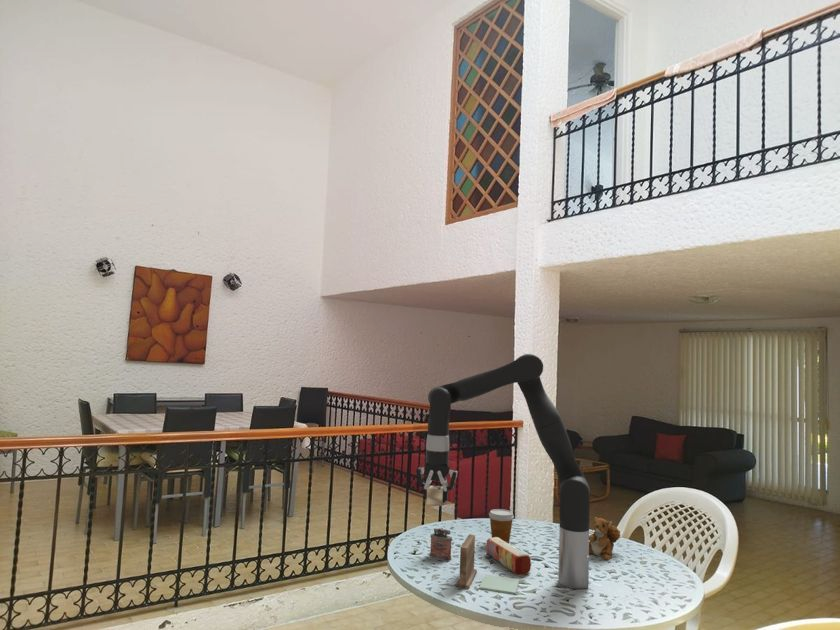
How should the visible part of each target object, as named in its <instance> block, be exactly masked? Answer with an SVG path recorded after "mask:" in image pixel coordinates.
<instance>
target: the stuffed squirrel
mask: <svg viewBox="0 0 840 630" xmlns="http://www.w3.org/2000/svg"><path fill="white" fill-rule="evenodd" d="M612 523H613V522H612V521H607V519H605V518H601V517H597V516H595V517H594V525H592V528H591V532H593V531H594V532H593V533H592V534H591V535H590V534H589V555H592V554H593V555H595V556H598V557H601V558H602V559H604V560H605V561H607V560H610V559H611V558H612V557H613V550H614V546H615V545H614V544H615V543H617V541H618V540H619V539H621V538H622V537H621V530H619V529H618V528H617V526H615V525H612Z"/></svg>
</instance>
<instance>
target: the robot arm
mask: <svg viewBox="0 0 840 630" xmlns="http://www.w3.org/2000/svg"><path fill="white" fill-rule="evenodd" d="M543 372H544V362H543V361H542V360H541V358H540V357H539V356H537V355H536V354H532V353H525V354H523V355H520V356H519V357H518V358H516V359H515V360H513V361H511V362H509V363H507V364H504V365H502V366H500V367H497V368H495V369H491V370H488V371H484V372H480V373H477V374H474V375H471V376H468V377H464V378H462V379H459V380H457V381H454V382H451V383H446V384H442V385H440V386H439V385H438V386H435V387H433V388H432V389H431V390H430V391H429V392H428V395H427V400H428V403H429V417H428V420H427V421H428V422H427V435H426V436H427V437H426V444H425V449H426V450H425V465H424V466H423V467H420V466H419V467H417V468H416V469H415V473H416V477H417V482H418V486H419V488H423V489H424V491H423V492H424V495H423V497H424V500H425V501H426V502H427V488H429V487H430V486H431V484H432V481H438V482H440V485H441V487H443V490H444V491H443V503H444V504H446V503H447V501H448V500H449V491H452V490H453V489H454V488H455V484H456V482H457V478H458V474H459V473H458V470H453V469H451V468H450V466H449V465H450V464H449V463H450V461H449V460H450V415H451V408H452V404H454V403H457V402H464V401H469V400H472V399H474V398H477V397H480V396H484V395H485V394H488V393H490V392H492V391H495V390H497V389H499V388H502V387H505V386H508V385H512V384H515V383H517V385H518V387H519V389H520V391H521V393H522V396H523V398H524V400H525V402H526V405H527V408H528V411H529V414H530V418H531V420H532V423H533V426H534V429H535V431H536V434H537V436H538V439H539V440H540V443H541V446H542V447H543V449H544V450H545V452H546V454H547V456H548V457H549V458H550V461H551V462H552V463H553V466H554V468H555V472H556V474H557V478H558V480H559V481H558V482H559V485H560V488H559V507H558V509H559V514H558V515H559V516H558V517H559V528H558V529H559V530H558V531H559V532H558V533H559V535H558V536H559V537H558V539H559V540H558V574H557V575H558V576H557V577H558V579H557V580H558V581H557V582H558V583H559V584H561V586H564V587H566V588H570V589H580V590H581V589H589V586H590V585H589V579H590V578H589V577H590V574H589V573H590V567H589V566H590V554H589V536H590V515H591V514H590V509H591V508H590V507H591V506H590V505H591V503H590V502H591V488H590V485H589V482H588V481H587V478H585V474H583V472H582V470H581V468H580V466H579V463H578V462H577V460H576V457H575V455H574V454H575V453H574V452H573V451H574V450H573V447H572V444H571V440H570V437H569V434H568V432H567V429H566V426H565V423H564V420H563V419H562V416H561V414H560V412H559V411H558V409H557V408H556V406H555V404H554V403H553V402H552V400H551V399H550V398H549V396H548V394H547V393H546V391H545V388H544V386H543V382H542V380H541V376H542V374H543ZM424 473H426V476H427V478H426V481H425V479H424ZM447 475H450V476H449V477H450V482H449V485H448V479H447Z"/></svg>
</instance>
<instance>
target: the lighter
mask: <svg viewBox="0 0 840 630" xmlns="http://www.w3.org/2000/svg"><path fill="white" fill-rule="evenodd" d="M449 535H451V530H450V529H446V528H443V527H439V528H437V527H434V528H433V532H432V533H430V551H429V552H430V553H429V557H430V558H433V559H436V560H441V561H445V560H446V562H447V561H448V562H449V561H451V560H452V541H453V537H452V536H449Z"/></svg>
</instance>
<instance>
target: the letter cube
mask: <svg viewBox="0 0 840 630" xmlns="http://www.w3.org/2000/svg"><path fill="white" fill-rule="evenodd" d="M443 491H444V490H443V487H442V486H439V485H430V487H429V488H427V501H426V506H427V505H428V506H437V507H443V505H445V503H443Z"/></svg>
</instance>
